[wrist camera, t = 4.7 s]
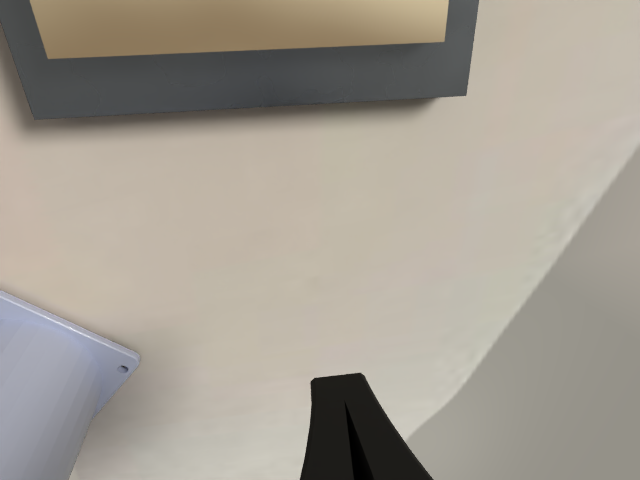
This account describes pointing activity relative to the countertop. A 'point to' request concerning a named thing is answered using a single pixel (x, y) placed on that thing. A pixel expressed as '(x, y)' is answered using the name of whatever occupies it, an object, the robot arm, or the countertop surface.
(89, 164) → the countertop surface
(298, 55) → the base
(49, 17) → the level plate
